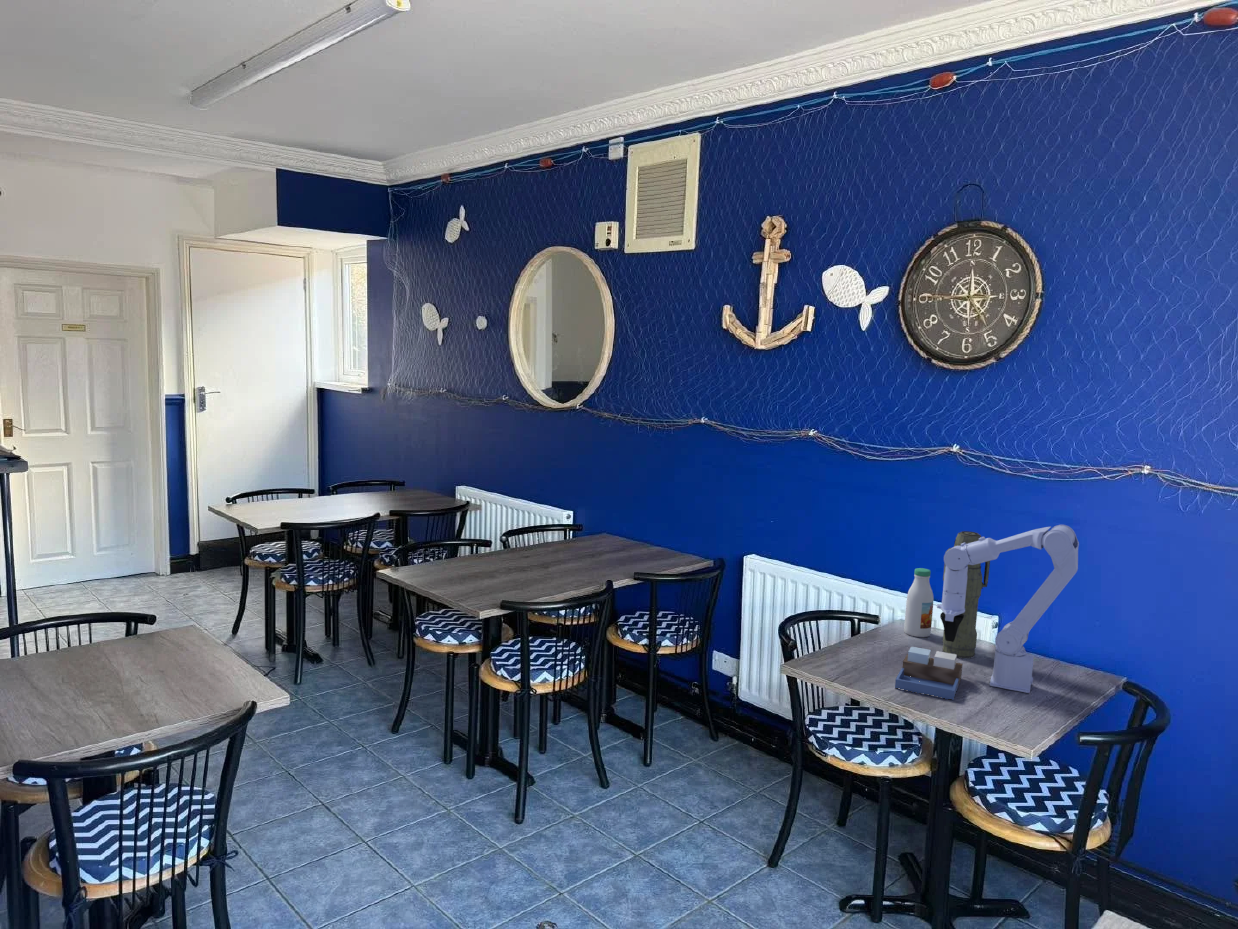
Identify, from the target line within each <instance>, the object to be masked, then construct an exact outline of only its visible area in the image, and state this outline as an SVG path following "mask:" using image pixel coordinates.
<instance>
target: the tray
mask: <svg viewBox="0 0 1238 929" xmlns="http://www.w3.org/2000/svg"><path fill="white" fill-rule="evenodd" d="M919 681H920V682H919ZM958 681H959V679H957V678H956V680H955V683H954V685H951V684H946V683H941V682H936V681H930V680H925V679H920V678H915V677H910V676H905V675H904V668H902V667H901V668H900V671H899V672H898V673H897V676H896V678H895V683H894V689H895V688H900V689H904V690H908V691H907V692H909V691H912V692H911V693H914V692H917V693H916V694H919V693H924V694H929V695H934V696H938V697H942V698H941V699H943V698H945V699H944V700H948V699H952V700H951V701H954V700H955V698H954V697H956V695H957V692H958V688H959V686H958ZM904 690H903V691H904ZM956 691H957V692H956ZM924 694H923V695H924ZM955 694H956V695H955ZM929 695H928V696H929ZM934 696H933V697H934ZM938 697H937V698H938Z"/></svg>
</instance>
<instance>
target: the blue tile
mask: <svg viewBox="0 0 1238 929" xmlns="http://www.w3.org/2000/svg"><path fill="white" fill-rule="evenodd" d="M931 652H932V650H931V649H927V648H923V647H916V646H910V648H909V650H908V651H907V654H908V661H910V662H916V663H921V664H926V665H928V662H929V660H930V658H931Z"/></svg>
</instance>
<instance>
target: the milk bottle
mask: <svg viewBox="0 0 1238 929" xmlns="http://www.w3.org/2000/svg"><path fill="white" fill-rule="evenodd" d="M931 572H932V571H931V569H929V568H923V567H919V568H918V567H917V568H915V569H914V575H913V576H914V579H913V581H912V584H911V586H910V587H909V589H908V591H907V595H906V601H905V602H906V604H905V612H904V614H905V615H904V625H903V627H904V628H903V631H904V633H905V634H906V635H908V636H912V637H917V638H928V637H930V635H931V634H932V633H931V632H932V623H933V613H934V612H933V610H934V593H933V589H932V587H931V584H930V578H931Z"/></svg>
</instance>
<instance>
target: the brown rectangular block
mask: <svg viewBox="0 0 1238 929" xmlns="http://www.w3.org/2000/svg"><path fill="white" fill-rule="evenodd" d="M933 665H934V657H933V658H932V657H930V660H929V662H928V665H926V664H921V663H916V662H910V661H908V653H906V655H905V656H904V658H903V661H902V667H901V669H902V668H904V675H905V676H911V677H915V678H920V679H925V680H930V681H936V682H941V683H946V684H951V685H954V683H955V680H956V678H957V679H959V681H958V687H959V685H960V683H961V680H962V672H963V663H959V662H956V665H955V668H954V670H953V669H948V668H942V667H937V666H933Z"/></svg>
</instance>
